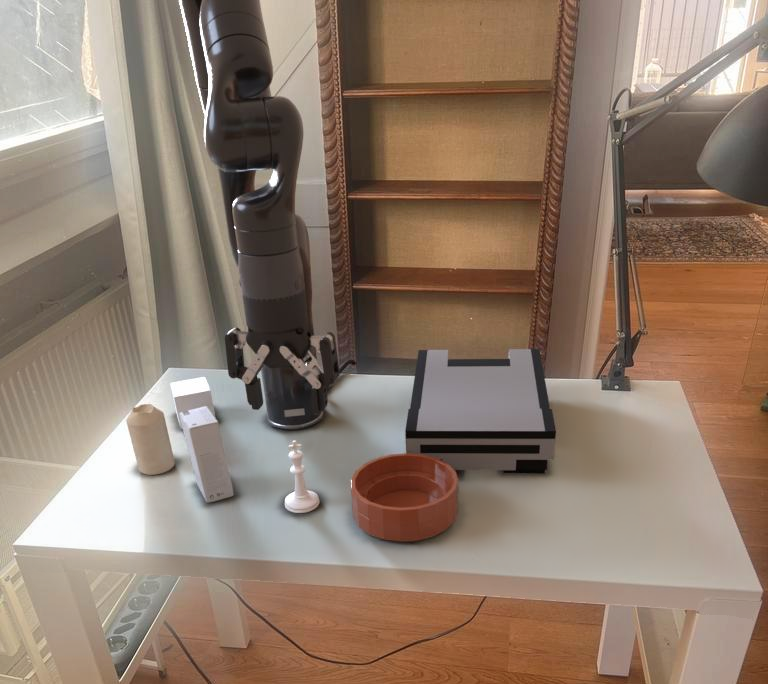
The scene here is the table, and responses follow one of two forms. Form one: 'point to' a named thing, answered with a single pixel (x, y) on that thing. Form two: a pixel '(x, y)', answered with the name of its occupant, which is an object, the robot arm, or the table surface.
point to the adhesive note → (191, 396)
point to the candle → (150, 439)
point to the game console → (482, 412)
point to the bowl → (405, 497)
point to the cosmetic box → (207, 453)
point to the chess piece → (299, 485)
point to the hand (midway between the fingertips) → (288, 409)
